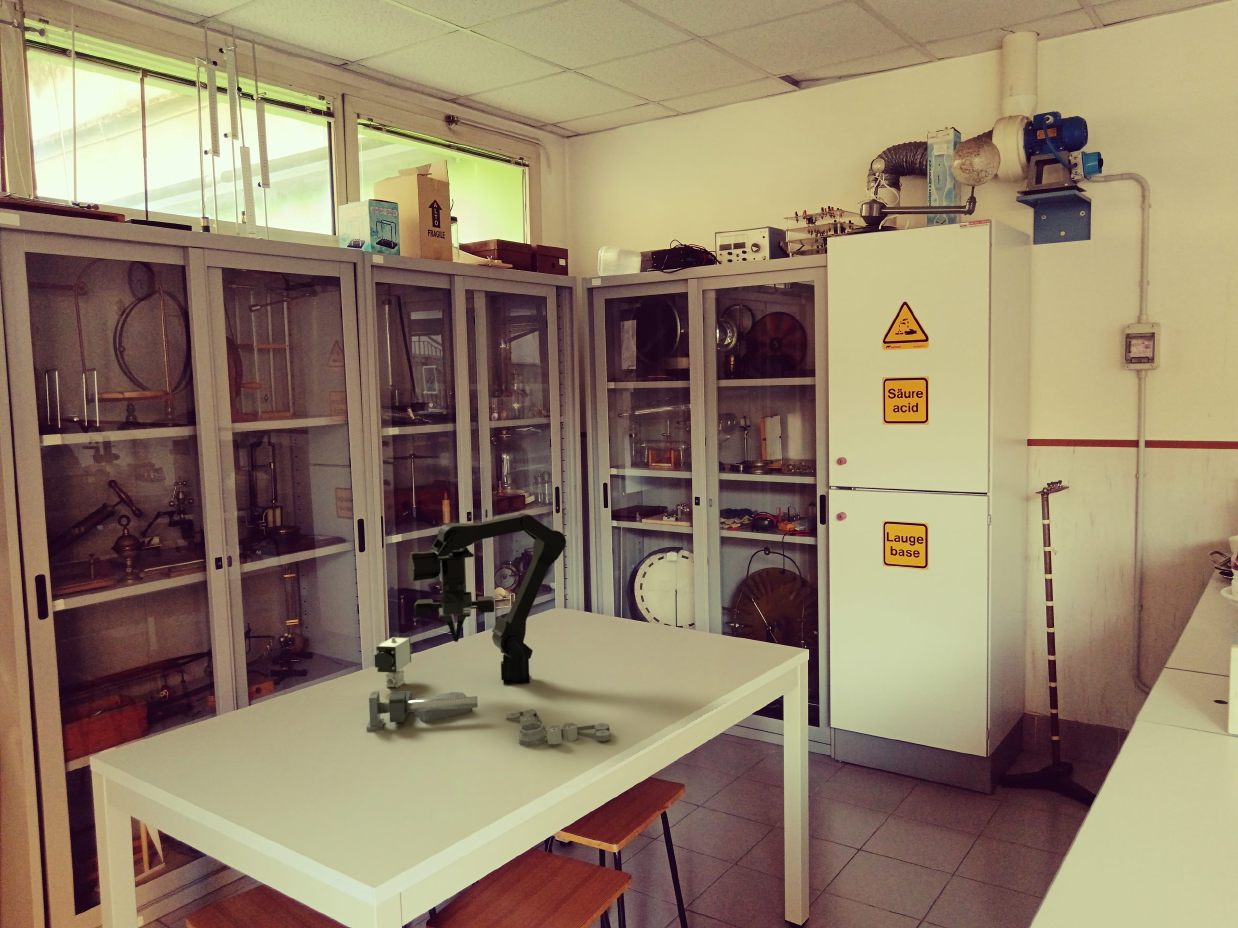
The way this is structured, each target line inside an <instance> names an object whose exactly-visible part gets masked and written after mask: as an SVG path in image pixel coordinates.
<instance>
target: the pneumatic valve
mask: <svg viewBox="0 0 1238 928" xmlns="http://www.w3.org/2000/svg"><path fill="white" fill-rule="evenodd" d="M375 648H376V649H375V650H376V653H375V654H374V668H377V671H376V672H377V673H386V674H385V677H386V679H385V680H386V681H385V682H386V684H385V686H386V688H398V689H399V688H400V687H401V686H403V685H404V684H405V682H406V681H405V680H404V679H405V670H404V669H403V668H405V667H406V666H407V665H409V664H410V663H412V653H413V645H412V643H411V637H408V636H407V637H403V636H399V637H398V636H392V637H391V638H389V639H387V640H384V641H382V642H380V643H379V644H378V645H377V646H376V647H375Z"/></svg>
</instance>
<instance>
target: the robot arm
mask: <svg viewBox="0 0 1238 928" xmlns="http://www.w3.org/2000/svg"><path fill="white" fill-rule="evenodd" d="M517 532H524V533H525V534H527V536H529V537H530V538H531V539H533V540H534V542H533V546H532V559H531V562H530V564H529V566H528V568H527V571H526V574H525V576H524V577H523V580H522V582H521V585H520V588H519V590H518V591H517V594H516V596H515V598H514V600H513V602H512V605H511V607H510V610H509V611H508V613H506V615H505V616H504V617H501V616H498V617H497V619H496V623H495V625H494V627H493V628H492V629H491V632H492V637H491V639H492V643H493V644H494V645H495V646H496V647H497V648H498V649H499V650H500V653H501V654H503V655H502V661H500V675H501V676H500V680H501V681H502V684H503V685H517V684H522V685H523V684H529V683H531V675H530V659H531V657H532V654H533V649H532V648H531V647H529V645H527V644H526V643H525V642H524V641H525V638H526V633H527V632H526V631H527V621H528V617H529V614H530V612H531V610H532V608H533V606H534V604H535V601H536V599H537V596H538V594H539V591H540V590H541V587H542V585H543V583H544V580H545V578H546V576H547V573H548V571H549V569H550V568H551V566H552V565H553V564H554V563H555V561H557V560H558V559H559V557H560V556H561V554H562V553H563V551H564V549H565V548H566V545H567V540H566V537H565V534H564V533H563V532H561V531H559V530H556V529H553V528H550V527H548V526H546V525H545V524H543V523H542V522H541V521H539V520H537V519H536V518H535V517H534V516H533V515H531V514H528V513H524V512H521V513H518V514H516V515H515V514H514V515H510V516H506V517H501V518H500V517H499V518H495V519H491V520H485V521H481V522H480V521H479V522H475V523H474V522H473V523H472V522H471V523H467V522H466V523H465V522H457V523H456V522H454V523H445V524H443V525H442V526H441V527H440V528H439V529H438V532H437V537H436V539H435V541H434V542H433V544H432V545H431V547H430V548H429V550H428V551H420V552H418V551H412V552H410V553H409V559H408V564H407V572H408V579H409V581H410V582H411V583H412V582H413V583H414V582H421V581H424V582H425V581H430V580H436V579H437V577H439V576H440V575H441V591H442V592H441V596H440V600H441V601H440V602H434V601H433V599H432V598H429V599H428V598H427V599H425V598H424V599H417V601H416V602H415V603H414V605H413V616H414V617H422V616H423V617H425V616H427V617H428V616H429V615H430V614H431V612H435V611H436V612H437V611H438V613H439V615H438V618H439V619H443V620H444V622H446V625H447V627H448V628H449V631H450V633H451V636H452V639H453V641H454V643H456V642H459V640H460V635H461V632H462V628H463V625H464V622H465V620H466V619H467V618H468V617H471V615H472V610H474V609H477V610H478V611H479V613H482V614H483V613H494V612H495V610H496V609H495V608H496V606H495V605H496V604H495V603H496V601H495V597H493V595H489V596H488V595H487V596H486V595H485V596H478V597H477V600H473V597H472V591H467V573H466V572H467V569H466V559H467V558H474V556H475V554H474V553H473V552H472V551H470V550H469V549H468V547H470V546H471V545H473V544H475V543H477V542H479V541H481V540H486V539H490V538H495V537H500V536H503V535H505V536H506V535H510V534H514V533H517ZM455 614H456V615H457V620H456V621H457V623H455Z"/></svg>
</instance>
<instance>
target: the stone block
mask: <svg viewBox="0 0 1238 928" xmlns="http://www.w3.org/2000/svg"><path fill="white" fill-rule="evenodd" d="M458 697H468V696H467V695H466V694H465V693H464V692H463V691H462V692H460V691H452V692H447V693H442V694H438V695H435V696H434V697H431V696H429V697H428V696H427V697H419V698H414V700H426V699H442V698H458ZM472 710H473V708H464V709H448V710H433V711H417V712H413V715H414V716H415V717H417V718H419V720H421V721H422V723H426V722H432V721H437V720H442V719H446V718H447V719H448V718H451V717H456V716H462V715H466V714H468V713H471V712H472Z"/></svg>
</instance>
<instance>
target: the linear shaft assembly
mask: <svg viewBox="0 0 1238 928" xmlns="http://www.w3.org/2000/svg"><path fill="white" fill-rule="evenodd" d="M380 697H381V696H380V691H371V693H370V695H369V697H368V708H369V710H368V711H369V720H368V723H367V726H366V732H376V731H378V732H379V731H382V729H383V726H384V724H385V718H381V715H383V714H390V712H389V701H384V702H383V701H381V700H380V699H381V698H380ZM478 698H479V697H478V695H476V696H467V697H458V698H442V699H426V700H415V699H412V700H410V701H404V712H408V713H412V712H417V711H433V710H448V709H464V708H472V709H476V708H477V709H478V707H479V704H478V703H479V701H478Z"/></svg>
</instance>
